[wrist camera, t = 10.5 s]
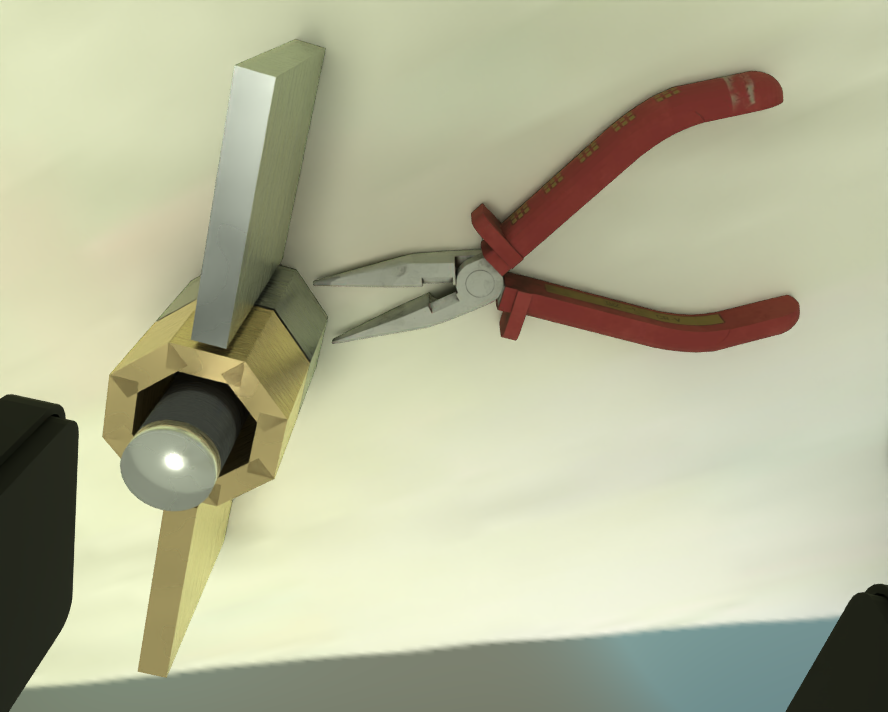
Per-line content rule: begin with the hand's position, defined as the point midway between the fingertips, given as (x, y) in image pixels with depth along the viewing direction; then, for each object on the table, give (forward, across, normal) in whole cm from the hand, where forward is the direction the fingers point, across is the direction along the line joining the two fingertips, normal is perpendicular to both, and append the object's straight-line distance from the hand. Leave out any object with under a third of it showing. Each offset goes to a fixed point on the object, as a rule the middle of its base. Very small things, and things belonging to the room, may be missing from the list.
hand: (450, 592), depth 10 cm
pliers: (+27, -4, +2) cm, 27 cm away
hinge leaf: (+26, +8, +14) cm, 30 cm away
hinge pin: (+26, +8, +10) cm, 29 cm away
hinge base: (+26, +8, +5) cm, 27 cm away
